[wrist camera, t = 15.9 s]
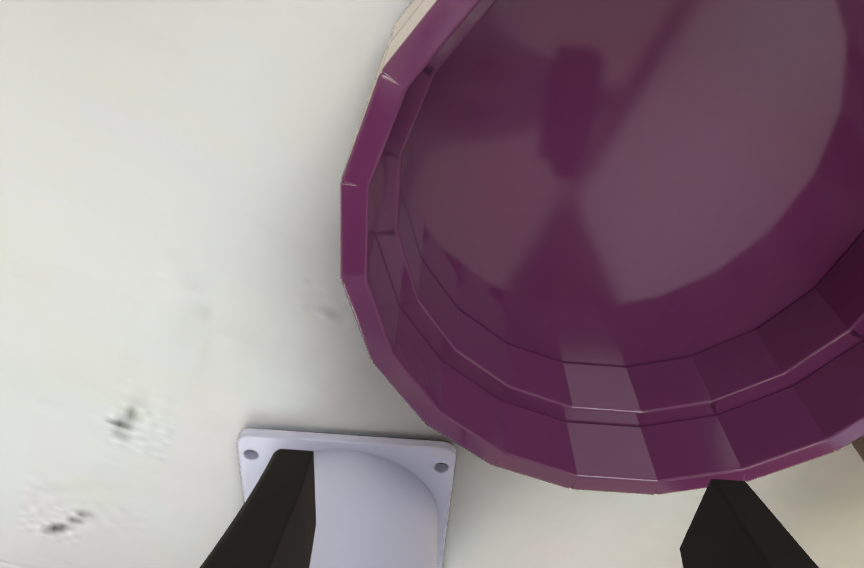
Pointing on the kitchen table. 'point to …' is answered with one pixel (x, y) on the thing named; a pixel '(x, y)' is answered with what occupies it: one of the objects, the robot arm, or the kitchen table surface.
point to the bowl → (617, 234)
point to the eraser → (859, 446)
